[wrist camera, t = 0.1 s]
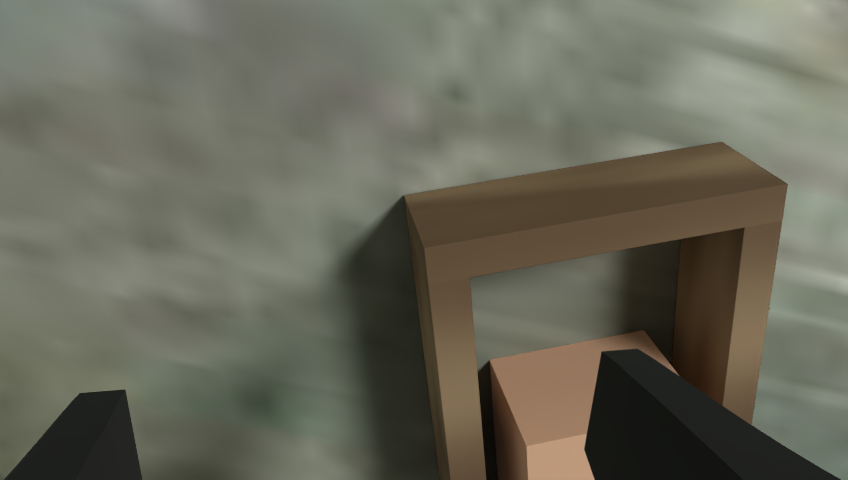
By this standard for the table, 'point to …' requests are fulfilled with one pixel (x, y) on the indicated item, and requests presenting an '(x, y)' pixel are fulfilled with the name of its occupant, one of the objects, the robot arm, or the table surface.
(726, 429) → the robot arm
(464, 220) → the walnut cubby
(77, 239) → the table surface
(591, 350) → the terracotta brick
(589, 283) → the table surface
